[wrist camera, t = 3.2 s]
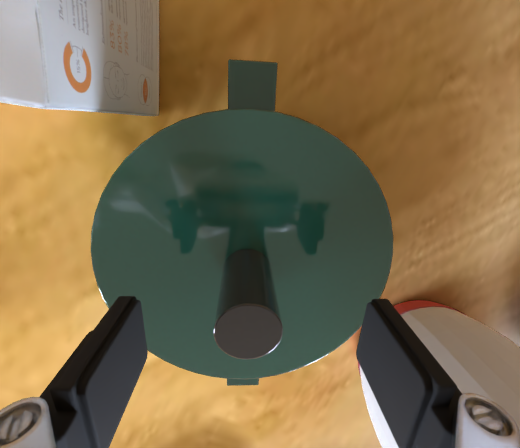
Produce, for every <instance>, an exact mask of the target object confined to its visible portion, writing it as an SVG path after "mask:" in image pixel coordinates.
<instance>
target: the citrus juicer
mask: <svg viewBox="0 0 520 448" xmlns="http://www.w3.org/2000/svg"><path fill="white" fill-rule="evenodd" d="M394 308H395V309H396V310H397V311H398V313H399V314H400V315H401V316H402V318H403V319H404V320H405V321H406V323H407V324H408V325H409V326H410V328H411V329H412V330H413V331H414V333H415V334H416V335H417V336H418V338H419V339H420V340H421V341H422V343H423V344H424V345H425V346H426V348H427V349H428V350H429V351H430V353H431V354H432V355H433V356H434V358H435V359H436V360H437V361H438V363H439V364H440V365H441V366H442V368H443V369H444V370H445V371H446V373H447V374H448V375H449V376H450V378H451V379H452V380H453V381H454V383H455V384H456V385H457V388H458V389H459V390H460V391H461V393H462V394H464V393H474V394H479V395H482V396H484V397H487V398H488V399H490V400H492V401H494V402H495V403H497V404H498V405H500V406H501V407H502V408H503V409H505V410H506V411H507V412H508V413H509V414H510V415H511V416H512V417H513V419H514V420H515V422H516V423H517V425H518V427H519V430H520V347H519V346H518V345H516V344H515V343H514V342H512V341H511V340H509V339H508V338H507V337H505V336H503V335H502V334H500V333H498V332H496V331H495V330H493V329H491V328H490V327H488V326H486V325H485V324H483V323H481V322H479V321H477V320H475V319H473V318H471V317H468V316H466V315H465V314H464V313H462V312H460V311H458V310H456V309H454V308H451V307H448V306H445V305H442V304H439V303H436V302H432V301H426V300H414V301H407V302H403V303H400V304H397V305H394ZM358 368H359V372H360V376H361V381H362V387H363V392H364V396H365V400H366V404H367V408H368V412H369V415H370V418H371V421H372V424H373V426H374V429H375V432H376V434H377V437H378V439H379V442H380V444H381V446H382V448H399V447H398V445H397V443H396V441H395V439H394V437H393V435H392V433H391V431H390V428H389V426H388V424H387V422H386V420H385V418H384V416H383V413H382V411H381V409H380V407H379V405H378V403H377V401H376V398H375V396H374V394H373V392H372V390H371V388H370V386H369V383H368V381H367V379H366V377H365V375H364V373H363V371H362V368H361V366H360V364H359V362H358Z"/></svg>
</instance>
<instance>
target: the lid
mask: <svg viewBox="0 0 520 448" xmlns="http://www.w3.org/2000/svg"><path fill="white" fill-rule="evenodd" d="M91 256H92V265H93V270H94V274H95V278H96V281H97V285H98V288H99V290H100V292H101V295H102V297H103V299H104V301H105V303H106V305H107V306H108V308H109V309H110V308H111V306H112V305H113V304H114V302H115V301H116V300H117V298H118V297H119V296H135V297H136V299H137V300H140V301H141V306H142V314H143V321H144V329H145V337H146V344H147V350H148V351H149V352H151V353H153V354H154V355H156V356H158V357H159V358H161V359H163V360H164V361H166V362H169V363H171V364H173V365H175V366H177V367H179V368H182V369H185V370H188V371H191V372H194V373H198V374H202V375H207V376H211V377H219V378H227V379H252V378H263V377H269V376H275V375H279V374H283V373H287V372H291V371H293V370H296V369H299V368H302V367H304V366H307V365H309V364H311V363H313V362H315V361H317V360H319V359H321V358H323V357H324V356H326V355H327V354H329V353H331V352H332V351H334V350H335V349H337V348H338V347H339V346H340V345H342V344H343V343H344V342H346V341H347V340H348V339H349V338H350V337H351V336H352V335H353V334H354V333H355V332H356V331H357V330H358V329H359V328H360V327H361V326H362V324H363V320H364V315H365V311H366V306H367V304H368V303H369V302H371V300H372V299H380V297H381V294H382V292H383V290H384V288H385V285H386V282H387V279H388V276H389V273H390V268H391V262H392V256H393V231H392V223H391V217H390V214H389V210H388V206H387V203H386V200H385V198H384V196H383V193H382V191H381V189H380V186H379V184H378V183H377V181H376V180H375V178H374V176H373V175H372V173H371V172H370V170H369V169H368V167H367V166H366V165H365V164H364V163H363V161H362V160H361V159H360V158H359V157H358V156H357V155H356V153H355V152H354V151H352V150H351V149H350V148H349V147H348V146H347V145H345V144H344V143H343V142H342V141H341V140H339V139H338V138H337V137H335V136H333V135H332V134H330V133H329V132H327V131H325V130H324V129H322V128H321V127H319V126H317V125H314V124H312V123H310V122H307V121H305V120H303V119H300V118H298V117H294V116H291V115H287V114H283V113H280V112H276V111H268V110H260V109H225V110H219V111H213V112H207V113H203V114H199V115H196V116H193V117H190V118H187V119H183V120H181V121H179V122H177V123H175V124H173V125H170V126H168V127H166V128H164V129H162V130H160V131H159V132H157V133H156V134H154V135H153V136H151V137H150V138H149V139H147V140H146V141H144V142H143V143H141V144H140V145H139V146H138V147H137V148H136V149H135V150H134V151H133V152H132V153H131V154H130V155H129V156H127V157H126V158H125V160H124V161H123V162H122V163H121V165H120V166H119V167H118V168H117V170H116V171H115V172H114V174H113V175H112V177H111V178H110V180H109V182H108V184H107V185H106V187H105V189H104V191H103V193H102V195H101V198H100V201H99V203H98V206H97V209H96V211H95V216H94V221H93V226H92V231H91Z"/></svg>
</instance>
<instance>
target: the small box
mask: <svg viewBox="0 0 520 448" xmlns="http://www.w3.org/2000/svg"><path fill="white" fill-rule="evenodd" d="M0 102H1V103H7V104H14V105H20V106H27V107H34V108H41V109H58V110H77V111H89V112H103V113H117V114H128V115H141V116H158V115H159V0H0Z"/></svg>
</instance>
